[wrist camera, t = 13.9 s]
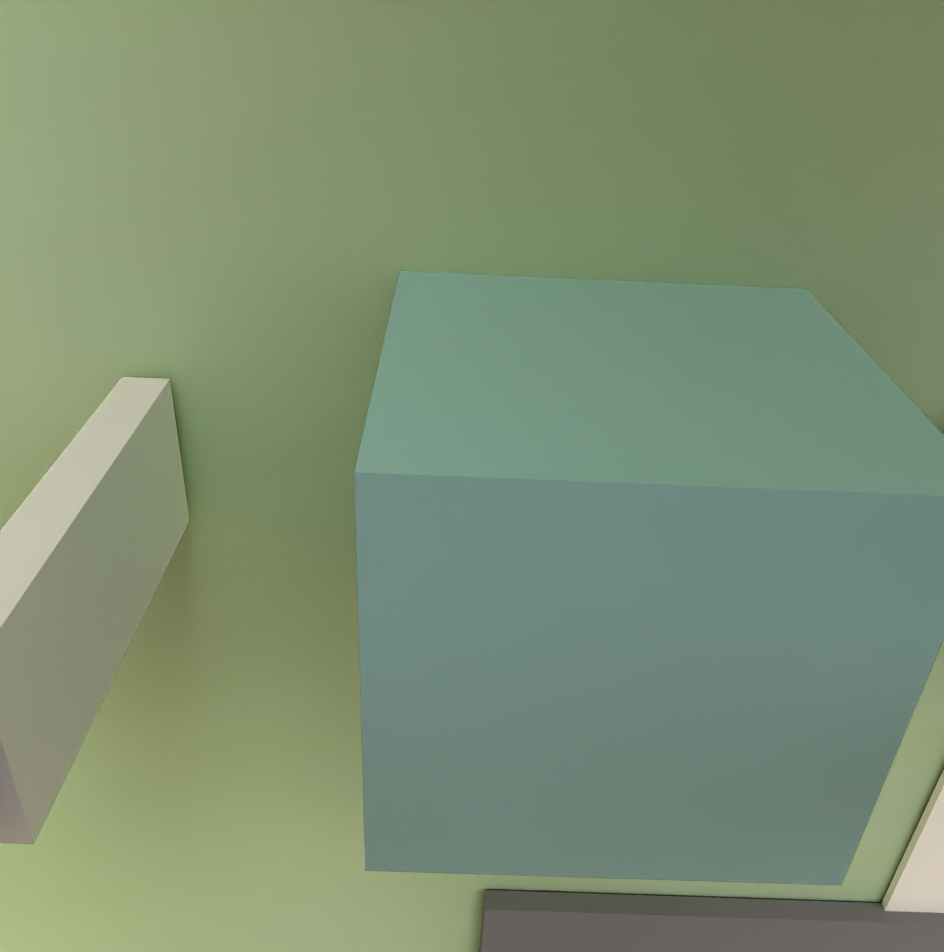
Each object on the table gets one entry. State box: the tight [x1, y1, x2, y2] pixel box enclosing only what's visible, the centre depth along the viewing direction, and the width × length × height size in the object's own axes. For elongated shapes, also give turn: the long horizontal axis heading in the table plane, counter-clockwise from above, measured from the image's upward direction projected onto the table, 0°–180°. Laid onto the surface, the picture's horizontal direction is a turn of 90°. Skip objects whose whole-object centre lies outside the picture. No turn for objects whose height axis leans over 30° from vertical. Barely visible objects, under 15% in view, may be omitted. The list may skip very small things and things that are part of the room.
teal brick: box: [354, 271, 944, 885], centre depth 13 cm, size 6×6×6 cm
